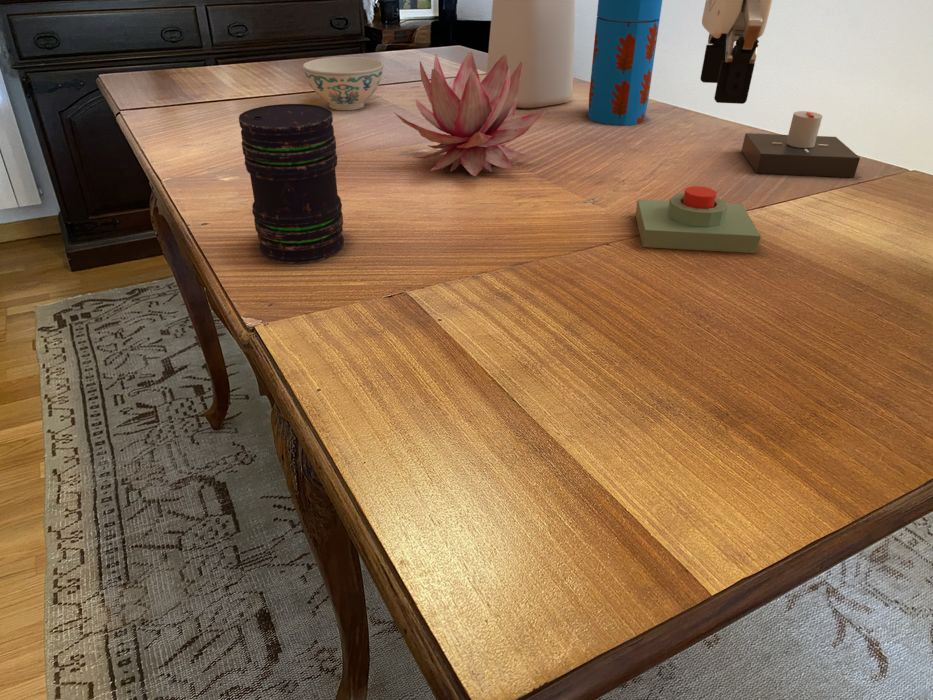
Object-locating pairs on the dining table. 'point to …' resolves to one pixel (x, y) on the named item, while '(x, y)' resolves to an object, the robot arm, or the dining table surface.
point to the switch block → (696, 226)
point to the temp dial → (804, 129)
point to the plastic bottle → (535, 47)
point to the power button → (699, 197)
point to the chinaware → (344, 80)
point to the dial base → (799, 156)
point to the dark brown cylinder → (293, 181)
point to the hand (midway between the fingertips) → (721, 91)
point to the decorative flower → (473, 116)
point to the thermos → (623, 60)
